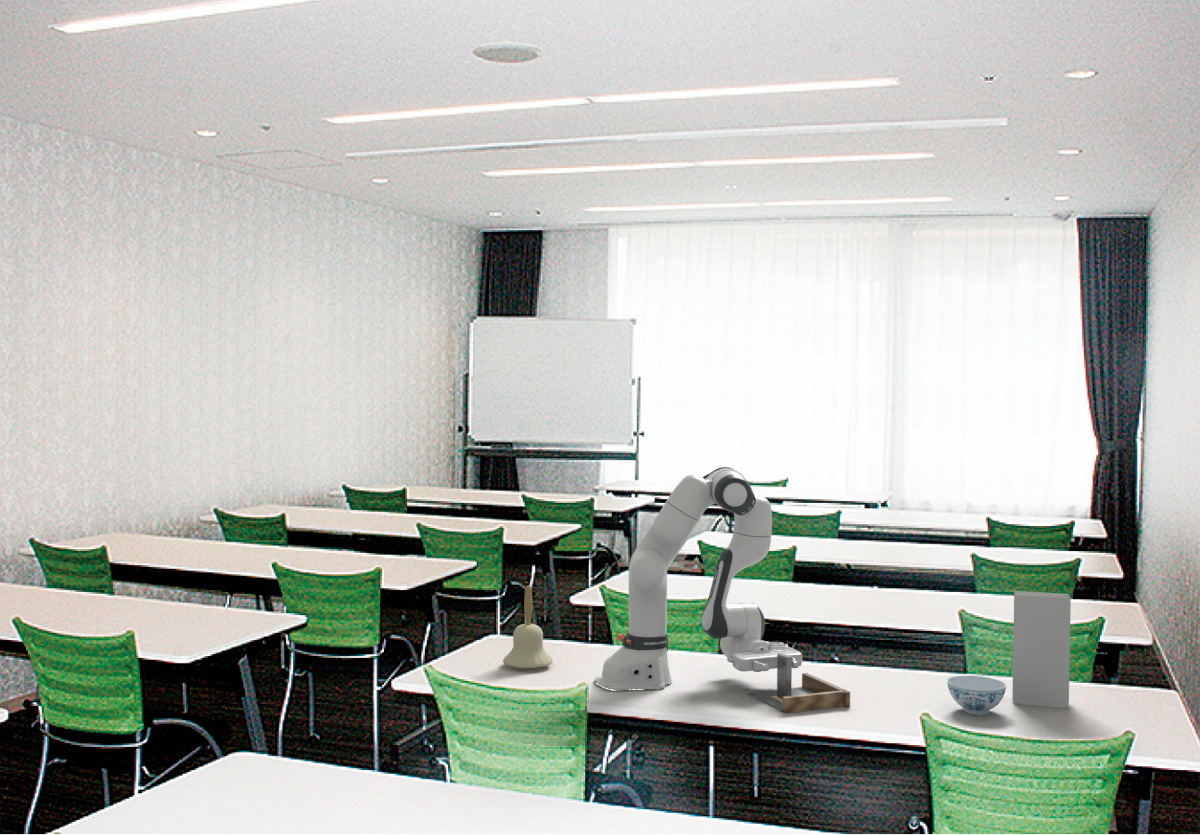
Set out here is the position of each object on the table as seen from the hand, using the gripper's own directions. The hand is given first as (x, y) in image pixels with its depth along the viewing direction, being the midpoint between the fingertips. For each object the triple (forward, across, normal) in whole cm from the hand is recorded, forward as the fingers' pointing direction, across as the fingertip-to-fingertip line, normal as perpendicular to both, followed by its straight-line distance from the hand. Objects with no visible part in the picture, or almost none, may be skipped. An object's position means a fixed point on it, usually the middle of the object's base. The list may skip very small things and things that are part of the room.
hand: (781, 666), depth 307 cm
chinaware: (+28, +43, +9) cm, 52 cm away
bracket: (+2, +3, +8) cm, 9 cm away
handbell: (-58, -54, +9) cm, 80 cm away
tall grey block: (+28, +65, +9) cm, 71 cm away
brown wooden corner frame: (+2, +4, +9) cm, 10 cm away
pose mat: (+2, +3, +9) cm, 10 cm away
